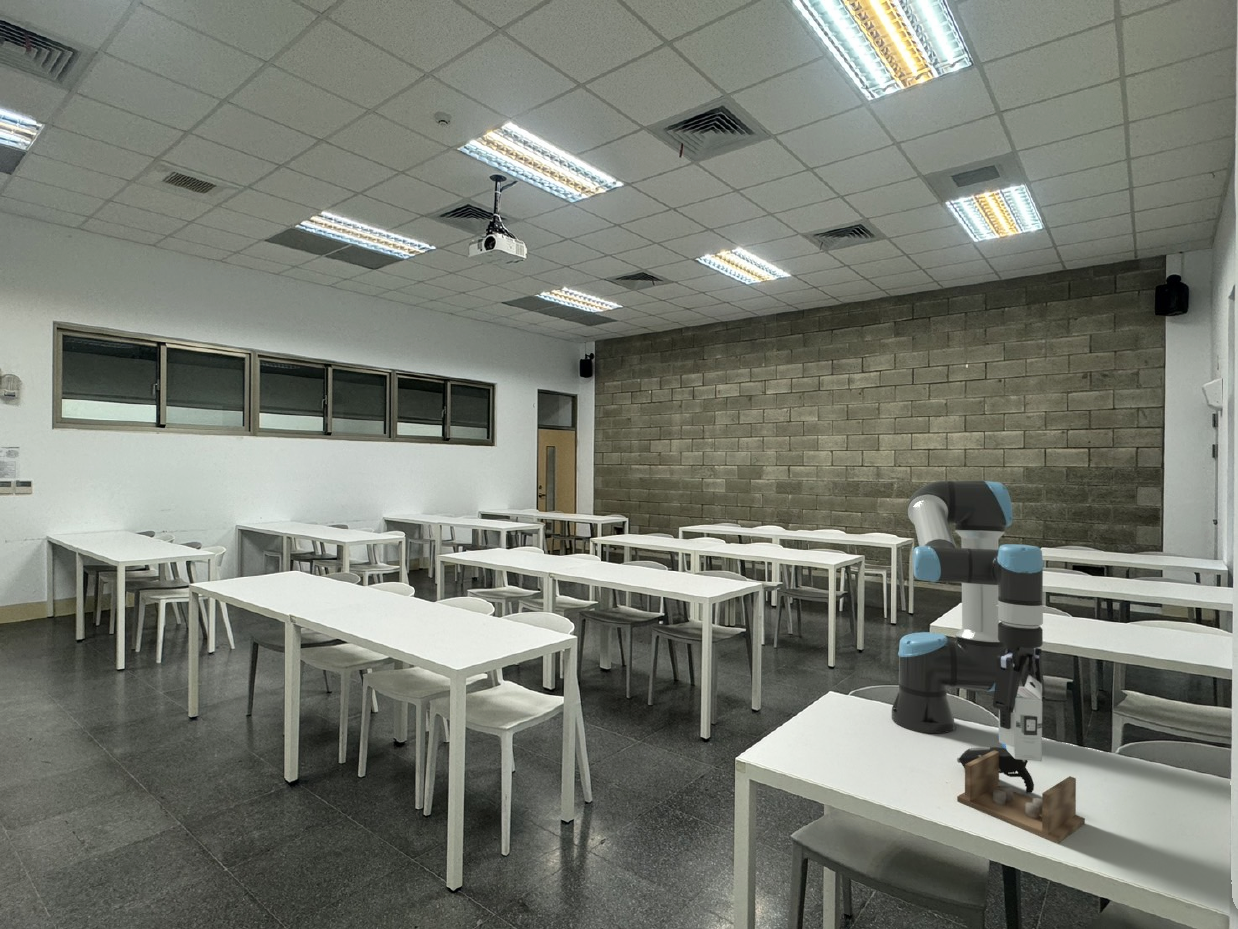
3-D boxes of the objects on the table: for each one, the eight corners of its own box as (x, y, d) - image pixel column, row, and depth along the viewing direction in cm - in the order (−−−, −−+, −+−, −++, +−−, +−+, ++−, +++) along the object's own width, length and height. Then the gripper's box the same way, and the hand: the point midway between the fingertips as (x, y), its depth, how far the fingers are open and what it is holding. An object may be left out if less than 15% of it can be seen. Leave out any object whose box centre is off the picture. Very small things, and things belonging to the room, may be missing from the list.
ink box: (997, 741, 132) (998, 669, 132) (1024, 744, 131) (1024, 670, 131) (1014, 759, 123) (1014, 681, 124) (1042, 762, 122) (1043, 684, 123)
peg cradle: (986, 785, 138) (986, 747, 138) (1084, 823, 123) (1084, 781, 123) (957, 801, 131) (957, 761, 131) (1057, 843, 116) (1057, 799, 116)
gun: (981, 786, 146) (954, 746, 148) (1048, 787, 133) (1018, 742, 134) (975, 794, 144) (948, 753, 146) (1043, 795, 131) (1012, 750, 133)
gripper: (1024, 614, 137) (1024, 721, 136) (972, 626, 124) (971, 744, 124) (1065, 621, 131) (1064, 732, 130) (1014, 635, 118) (1013, 759, 118)
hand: (1019, 738), depth 127 cm, fingers closed on ink box, 9 cm apart
